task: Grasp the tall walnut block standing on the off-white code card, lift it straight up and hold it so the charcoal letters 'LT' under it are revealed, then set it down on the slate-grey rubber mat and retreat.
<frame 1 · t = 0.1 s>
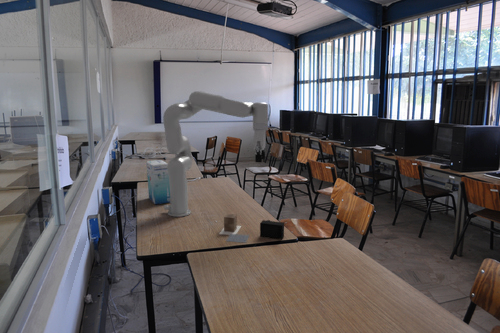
hand: (260, 160, 193), 31 cm above the table, fingers open, 9 cm apart
walnut block: (230, 229, 182), resting on code card
code card: (230, 230, 182), on the table
digital camera: (272, 237, 174), on the table
toothbrush box: (159, 200, 233), on the table
rubber mat: (237, 238, 171), on the table
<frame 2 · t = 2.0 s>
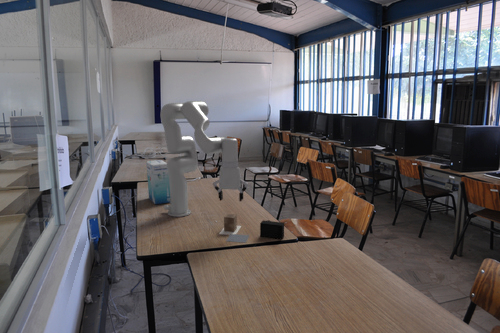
hand: (231, 200, 179), 15 cm above the table, fingers open, 9 cm apart
nothing on the table moved.
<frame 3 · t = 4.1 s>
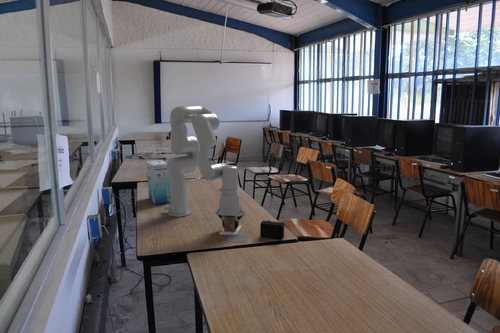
hand: (230, 227, 181), 1 cm above the table, fingers closed on walnut block, 5 cm apart
walnut block: (230, 229, 182), resting on code card, touching gripper
everything else where it was.
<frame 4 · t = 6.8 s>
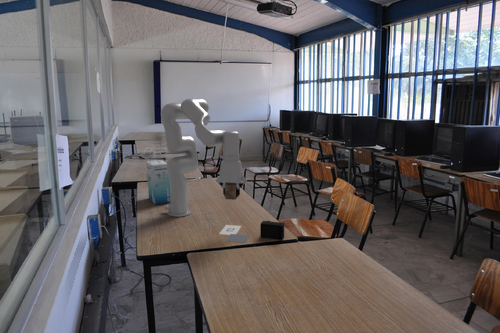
hand: (231, 195, 176), 18 cm above the table, fingers closed on walnut block, 5 cm apart
walnut block: (231, 198, 177), point 17 cm above the table, touching gripper
everything else where it was.
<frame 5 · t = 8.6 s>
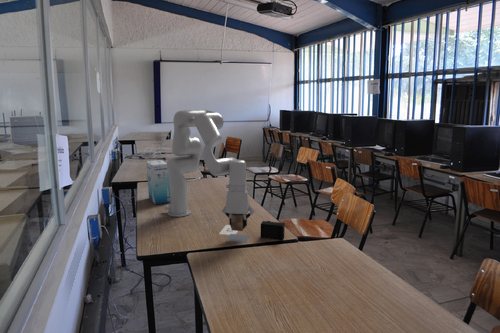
hand: (238, 226, 170), 6 cm above the table, fingers closed on walnut block, 5 cm apart
walnut block: (238, 228, 170), point 5 cm above the table, touching gripper
everything else where it was.
when the fingers open (2 cm above the table, at t = 9.8 s): walnut block drops 1 cm, resting on rubber mat.
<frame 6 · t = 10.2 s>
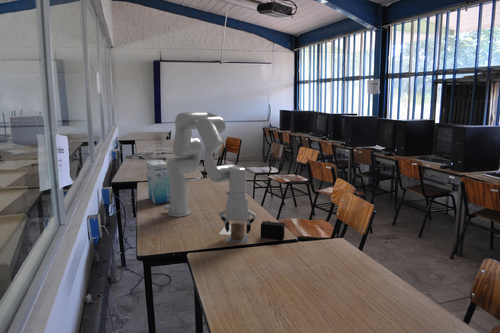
hand: (237, 231, 170), 3 cm above the table, fingers open, 9 cm apart
walnut block: (237, 238, 171), resting on rubber mat
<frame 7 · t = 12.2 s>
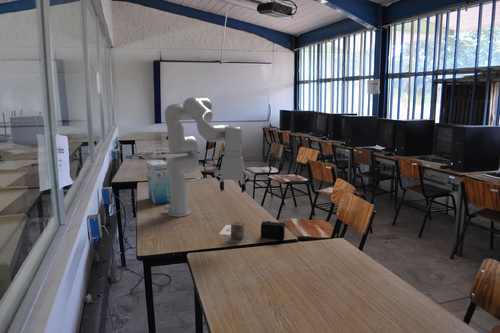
hand: (232, 191, 171), 21 cm above the table, fingers open, 9 cm apart
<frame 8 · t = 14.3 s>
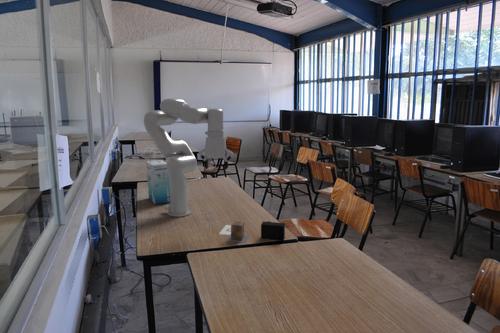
hand: (216, 168, 186), 28 cm above the table, fingers open, 9 cm apart
at the end: walnut block inside the target area on the rubber mat (0.1 cm from its centre), point 0.3 cm above the rubber mat's base; walnut block tilted 0°; walnut block moved 11.6 cm from its start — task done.
